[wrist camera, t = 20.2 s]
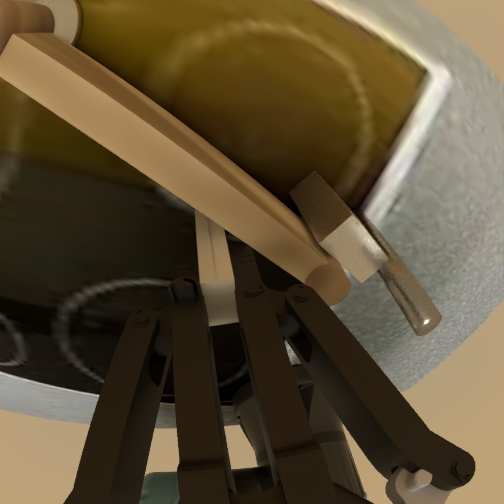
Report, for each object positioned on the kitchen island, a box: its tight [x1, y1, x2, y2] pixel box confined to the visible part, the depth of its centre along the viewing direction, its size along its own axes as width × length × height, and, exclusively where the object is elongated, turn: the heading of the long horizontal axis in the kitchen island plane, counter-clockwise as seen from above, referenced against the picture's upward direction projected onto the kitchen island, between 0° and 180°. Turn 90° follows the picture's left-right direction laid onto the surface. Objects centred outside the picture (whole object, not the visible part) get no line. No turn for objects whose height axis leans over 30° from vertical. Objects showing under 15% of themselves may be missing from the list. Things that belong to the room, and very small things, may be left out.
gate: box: [0, 0, 351, 306], centre depth 12 cm, size 4×25×8 cm, turn 46°
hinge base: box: [15, 0, 83, 47], centre depth 11 cm, size 6×6×1 cm
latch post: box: [289, 170, 442, 336], centre depth 18 cm, size 3×7×11 cm, turn 45°
